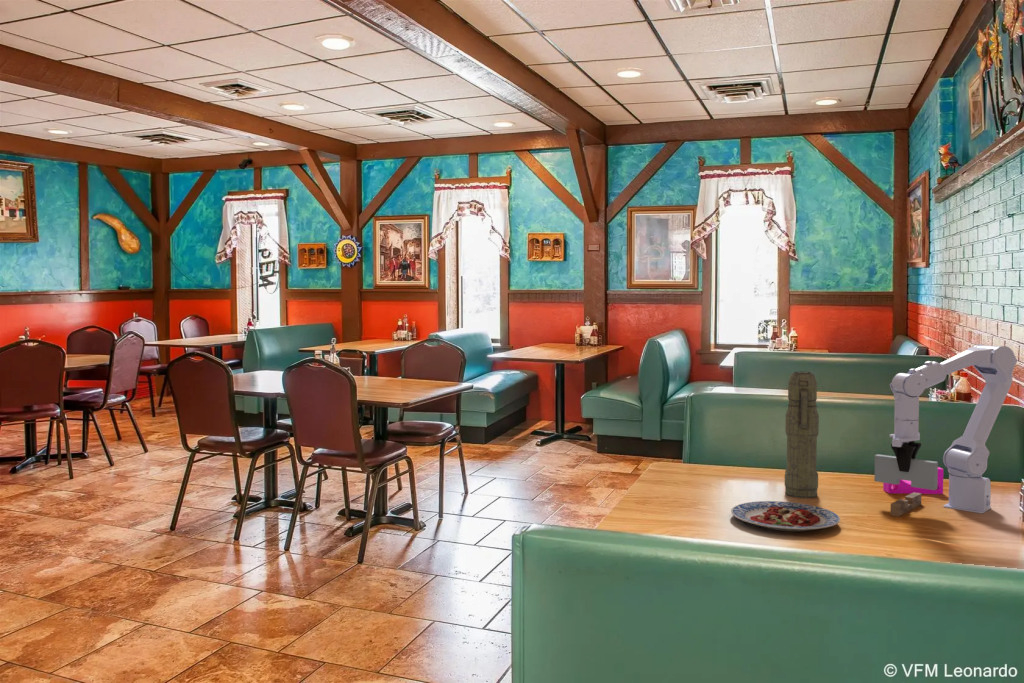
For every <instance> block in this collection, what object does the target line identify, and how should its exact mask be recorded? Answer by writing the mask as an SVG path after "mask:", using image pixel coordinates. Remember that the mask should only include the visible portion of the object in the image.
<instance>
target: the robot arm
mask: <svg viewBox="0 0 1024 683" xmlns="http://www.w3.org/2000/svg"><path fill="white" fill-rule="evenodd" d="M1017 362H1018V360H1017V358H1016V355H1015V352H1014V351H1013V350H1012V348H1011V347H1009V346H1006V345H1002V346H1001V345H1000V346H998V345H988V344H987V345H986V344H985V345H984V344H976V345H974V346H970V347H967V348H966V350H964V351H961V352H960V353H958V354H956V355H953V356H952V357H950V358H948V359H945V360H944V361H941V362H937V361H932V360H931V361H930V360H927V361H925V362H924V364H923V365H920V366H919V367H916V368H910V369H909V370H908V371H907V373H905V372H899V373H896V374H895V375H894V376H893V378H892V380H891V383H889V387H890V390H891V392H892V393H893V399H894V422H893V423H894V425H893V426H894V429H893V431H894V432H893V433H891V434H889V438H891V439H892V440H891V444H890V446H891V447H890V448H891V449H892V452H893V453H894V456H895V457H896V459H897V463H898V467H899V471H903V472H909V469H910V463H911V459H917V458H916V457H917V454H918V452H919V450H920V449H921V447H922V443H921V442H916V441H920V440H921V437H920V435H921V432H919V430H920V429H919V427H920V426H919V425H920V424H919V422H920V421H919V419H920V418H919V417H920V414H919V413H920V396H921V395H922V394H923V393H924V391H925V390H927V389H929V388H932V387H934V386H936V385H938V384H940V383H942V382H944V381H945V380H946V378H947V375H949V374H953V373H954V372H958V371H960V370H962V369H966V368H969V367H971V366H973V367H974V369H975V370H976V372H978V373H979V374H980V376H981V377H982V378H983V380H984V382H985V385H984V386H983V389H982V391H981V393H980V396H979V398H978V400H977V403H976V405H975V407H974V409H973V411H972V414H971V416H970V418H969V420H968V423H967V425H966V428H965V429H964V432H963V434H962V435H961V436H960V437H958V438H956V439H954V440H953V441H952V443H951V445H950V446H949V447H948V448H947V449H946V450H945V451H944V453H943V457H942V462H943V464H944V466H945V467H946V468H947V472H948V503H947V502H946V503H945V504H944V505H942V506H943V508H946V509H952V510H957V511H965V512H971V513H975V514H976V513H977V514H984V513H986V512H988V510H990V509H992V507H991V497H992V496H991V495H992V494H991V492H992V491H991V489H992V488H991V487H992V486H991V485H992V484H991V479H990V478H989V477H983V474H984V473H985V472H986V470H987V468H988V458H989V456H990V454H991V453H990V451H989V449H988V448H987V445H986V442H987V440H988V438H989V436H990V434H991V432H992V429H993V426H994V424H995V422H996V420H997V418H998V415H999V413H1000V411H1001V409H1002V407H1003V404H1004V402H1005V400H1006V398H1007V395H1008V393H1009V391H1010V388H1011V387H1012V383H1013V375H1014V374H1013V372H1014V369H1015V367H1016V364H1017Z"/></svg>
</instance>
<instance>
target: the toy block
mask: <svg viewBox="0 0 1024 683" xmlns="http://www.w3.org/2000/svg"><path fill="white" fill-rule="evenodd" d="M882 483H883V482H882ZM882 485H883V486H882V487H883V491H884V492H886V493H888V494H907V495H909V494H911V493H913V492H915V493H921V494H923V495H924V494H925V495H928V494H929V495H930V494H931V495H943V494H944V468H942V467H940V466H938V482H937V489H936V490H930V489H923V488H917V487H911V481H908V480H901V479H900V483H899V484H897V485H896V484H890V483H883V484H882Z"/></svg>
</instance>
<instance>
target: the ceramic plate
mask: <svg viewBox="0 0 1024 683" xmlns="http://www.w3.org/2000/svg"><path fill="white" fill-rule="evenodd" d="M730 512H731V514H732V516H733V517H735V518H736V519H738V520H740V521H742V522H745V523H747V524H752V525H755V526H757V527H761V528H765V529H769V530H774V531H782V532H807V531H812V530H819V529H826V528H830V527H834V526H836V525H837V524H839V523H840V521H841V517H840V516H839V515H838V514H837V513H836V512H833V511H831V510H830V509H827V508H823V507H820V506H816V505H812V504H807V503H801V502H791V501H782V500H780V501H779V500H778V501H777V500H776V501H775V500H761V501H759V500H757V501H750V502H744V503H739V504H737V505H735V506H733V507H732V508H731V510H730Z"/></svg>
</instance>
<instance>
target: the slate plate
mask: <svg viewBox="0 0 1024 683" xmlns="http://www.w3.org/2000/svg"><path fill="white" fill-rule="evenodd" d="M938 465H939V462H938V461H934V460H933V461H932V460H926V459H918V458H915V459H911V463H910V469H909V472H903V471H899V467H898V463H897V459H896V456H895V455H894V456H893V455H888V454H887V455H886V454H879V453H878V454H875V455H874V477H873V478H874V479H873V480H874V482H878V483H890V484H896V485H897V484H899V483H900V479H901V480H908V481H911V487H917V488H923V489H930V490H936V489H937V482H938V467H939V466H938Z"/></svg>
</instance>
